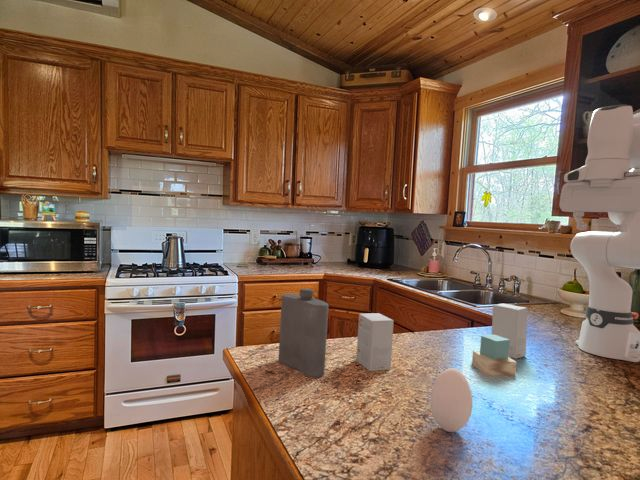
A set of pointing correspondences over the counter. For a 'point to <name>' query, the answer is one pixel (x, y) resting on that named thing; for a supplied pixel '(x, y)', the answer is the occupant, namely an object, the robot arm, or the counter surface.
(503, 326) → the skincare box
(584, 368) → the counter surface
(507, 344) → the teal cube
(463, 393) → the egg
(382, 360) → the small box
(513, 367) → the maple block
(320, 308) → the flask
